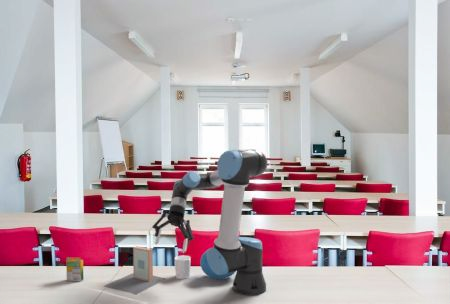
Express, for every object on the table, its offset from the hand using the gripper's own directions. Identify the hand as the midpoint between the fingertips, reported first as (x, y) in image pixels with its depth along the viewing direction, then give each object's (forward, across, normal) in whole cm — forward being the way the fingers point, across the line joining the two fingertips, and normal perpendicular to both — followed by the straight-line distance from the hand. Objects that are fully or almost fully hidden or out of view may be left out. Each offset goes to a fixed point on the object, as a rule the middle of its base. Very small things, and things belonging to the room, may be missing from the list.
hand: (170, 247), depth 180 cm
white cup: (+3, -16, -19) cm, 25 cm away
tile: (+6, +2, -26) cm, 27 cm away
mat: (+10, +5, -25) cm, 27 cm away
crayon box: (+9, +30, -43) cm, 53 cm away
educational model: (+2, -31, -10) cm, 33 cm away
